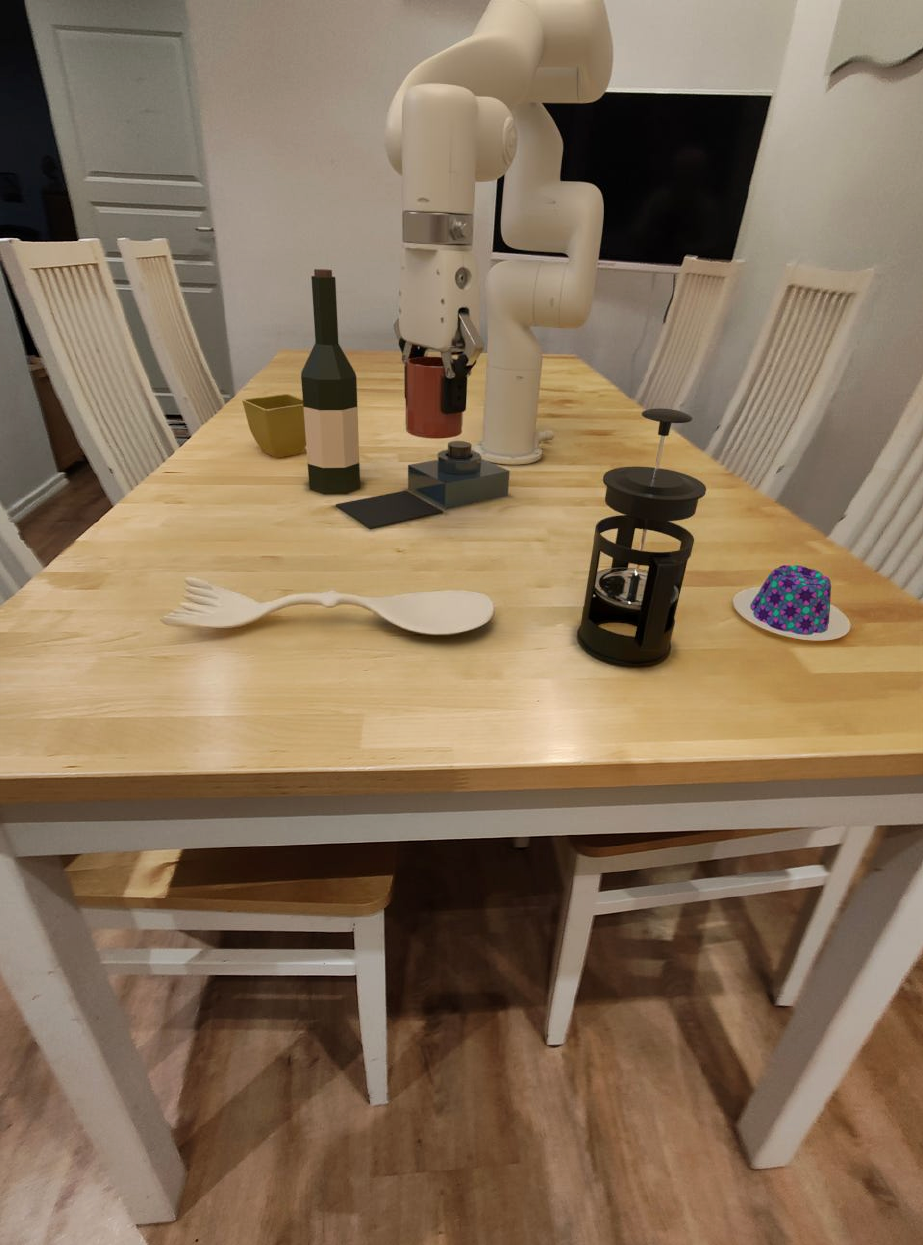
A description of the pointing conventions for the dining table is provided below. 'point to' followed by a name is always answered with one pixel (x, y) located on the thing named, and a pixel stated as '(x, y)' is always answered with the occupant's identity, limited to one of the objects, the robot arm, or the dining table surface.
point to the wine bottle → (329, 400)
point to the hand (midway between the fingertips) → (434, 404)
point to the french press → (639, 559)
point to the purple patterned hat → (794, 605)
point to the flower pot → (277, 424)
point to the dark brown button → (459, 450)
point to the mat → (388, 509)
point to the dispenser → (457, 480)
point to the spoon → (404, 610)
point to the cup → (428, 400)
